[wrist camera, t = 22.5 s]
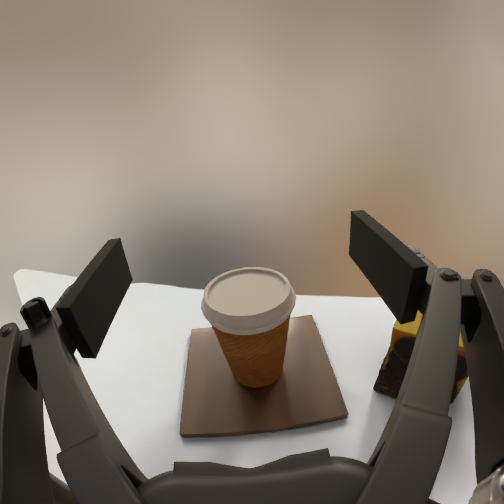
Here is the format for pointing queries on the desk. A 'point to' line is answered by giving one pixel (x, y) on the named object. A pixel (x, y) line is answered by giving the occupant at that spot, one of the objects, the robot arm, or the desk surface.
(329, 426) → the desk surface
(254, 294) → the disposable coffee cup
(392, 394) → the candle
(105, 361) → the desk surface
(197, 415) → the placemat
